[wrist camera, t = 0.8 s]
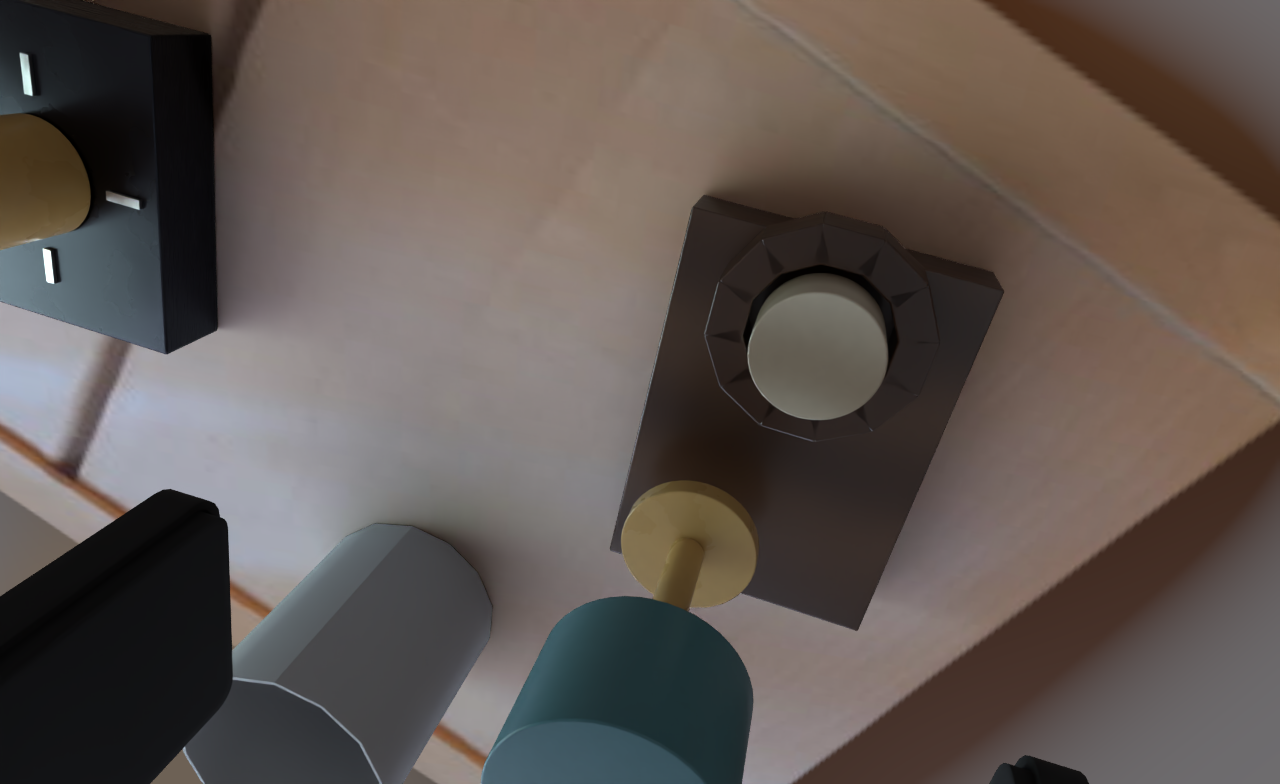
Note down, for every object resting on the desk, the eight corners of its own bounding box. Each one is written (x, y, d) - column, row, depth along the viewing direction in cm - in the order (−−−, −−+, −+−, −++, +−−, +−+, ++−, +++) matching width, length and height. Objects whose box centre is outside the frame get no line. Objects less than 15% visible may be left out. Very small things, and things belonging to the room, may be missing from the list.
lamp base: (709, 166, 28) (688, 186, 24) (1005, 244, 27) (1029, 277, 23) (622, 521, 35) (596, 577, 31) (857, 596, 33) (857, 664, 30)
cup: (441, 696, 41) (328, 879, 32) (306, 600, 41) (153, 761, 32) (523, 596, 38) (420, 774, 29) (374, 490, 37) (223, 637, 28)
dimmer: (-21, -27, 32) (-107, -32, 29) (212, 34, 30) (146, 35, 28) (18, 268, 37) (-51, 288, 34) (218, 330, 36) (163, 356, 33)
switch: (774, 257, 25) (768, 275, 23) (904, 292, 25) (908, 314, 23) (740, 373, 27) (732, 398, 25) (861, 408, 26) (861, 437, 25)
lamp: (628, 442, 28) (497, 684, 18) (798, 495, 28) (763, 778, 17) (596, 577, 31) (466, 856, 21) (750, 628, 30) (696, 943, 20)
